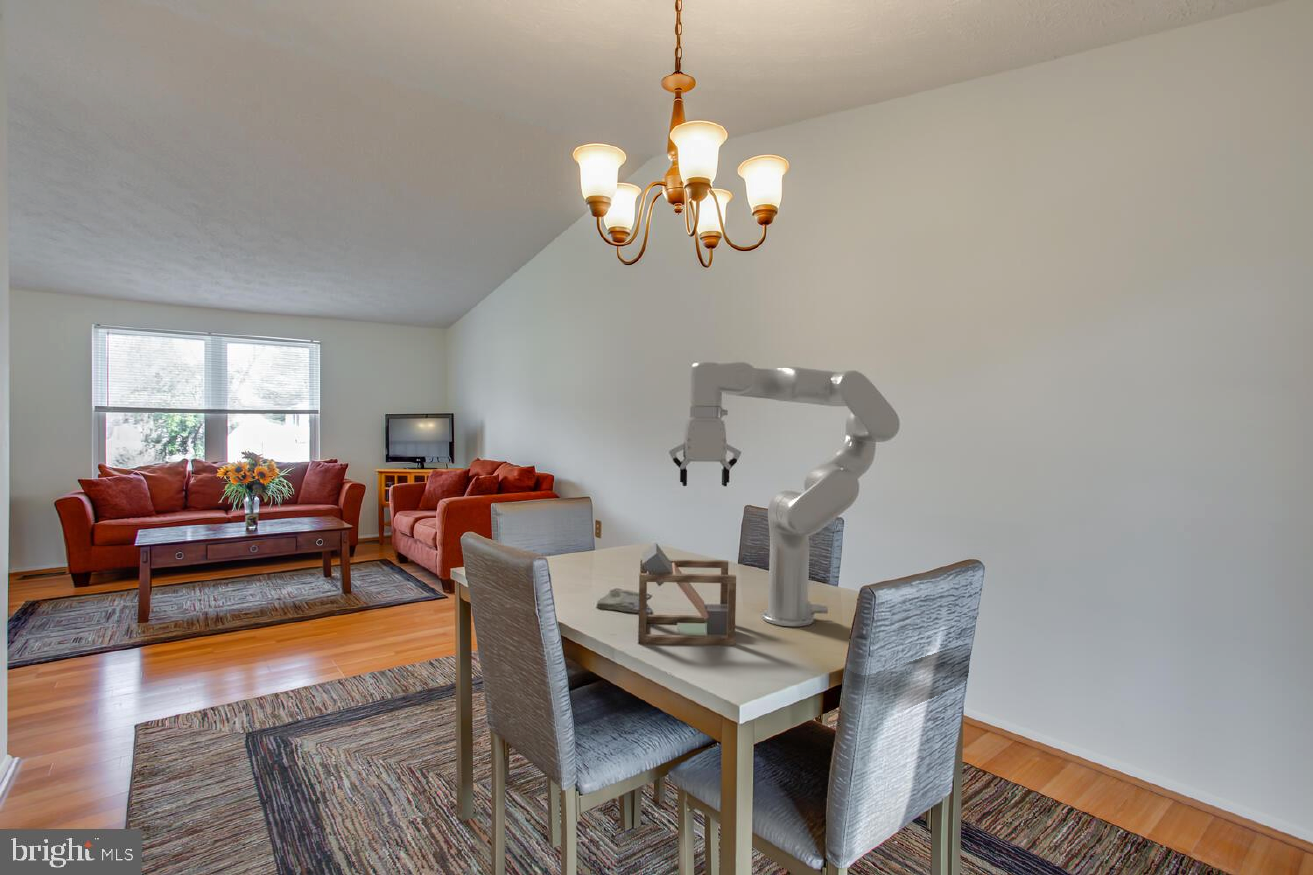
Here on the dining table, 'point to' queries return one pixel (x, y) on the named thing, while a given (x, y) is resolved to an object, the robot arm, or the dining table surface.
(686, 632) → the mat
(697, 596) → the trapdoor
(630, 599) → the fossil rock
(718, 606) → the grey block
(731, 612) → the stand
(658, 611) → the dining table surface
